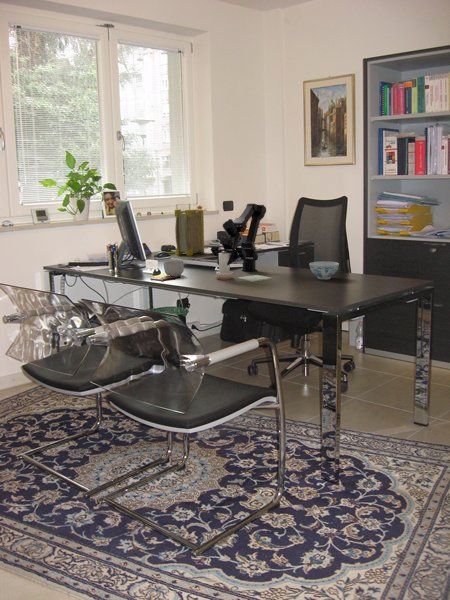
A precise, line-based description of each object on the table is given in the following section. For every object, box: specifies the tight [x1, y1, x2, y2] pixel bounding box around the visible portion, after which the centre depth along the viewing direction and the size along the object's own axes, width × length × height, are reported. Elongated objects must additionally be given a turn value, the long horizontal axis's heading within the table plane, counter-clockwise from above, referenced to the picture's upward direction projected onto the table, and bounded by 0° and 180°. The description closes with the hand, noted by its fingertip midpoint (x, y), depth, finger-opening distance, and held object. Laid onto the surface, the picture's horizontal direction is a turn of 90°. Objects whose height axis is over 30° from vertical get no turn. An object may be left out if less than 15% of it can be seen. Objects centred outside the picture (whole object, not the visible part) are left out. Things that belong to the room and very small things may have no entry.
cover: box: [215, 251, 234, 275], centre depth 359 cm, size 9×9×12 cm
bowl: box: [215, 273, 234, 281], centre depth 360 cm, size 9×9×2 cm
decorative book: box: [174, 208, 205, 257], centre depth 459 cm, size 20×11×30 cm, turn 145°
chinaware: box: [309, 261, 340, 280], centre depth 354 cm, size 15×15×8 cm
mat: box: [237, 274, 273, 283], centre depth 358 cm, size 13×13×1 cm
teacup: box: [163, 259, 185, 277], centre depth 374 cm, size 14×11×8 cm
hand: (223, 264), depth 358 cm, fingers closed on cover, 6 cm apart
